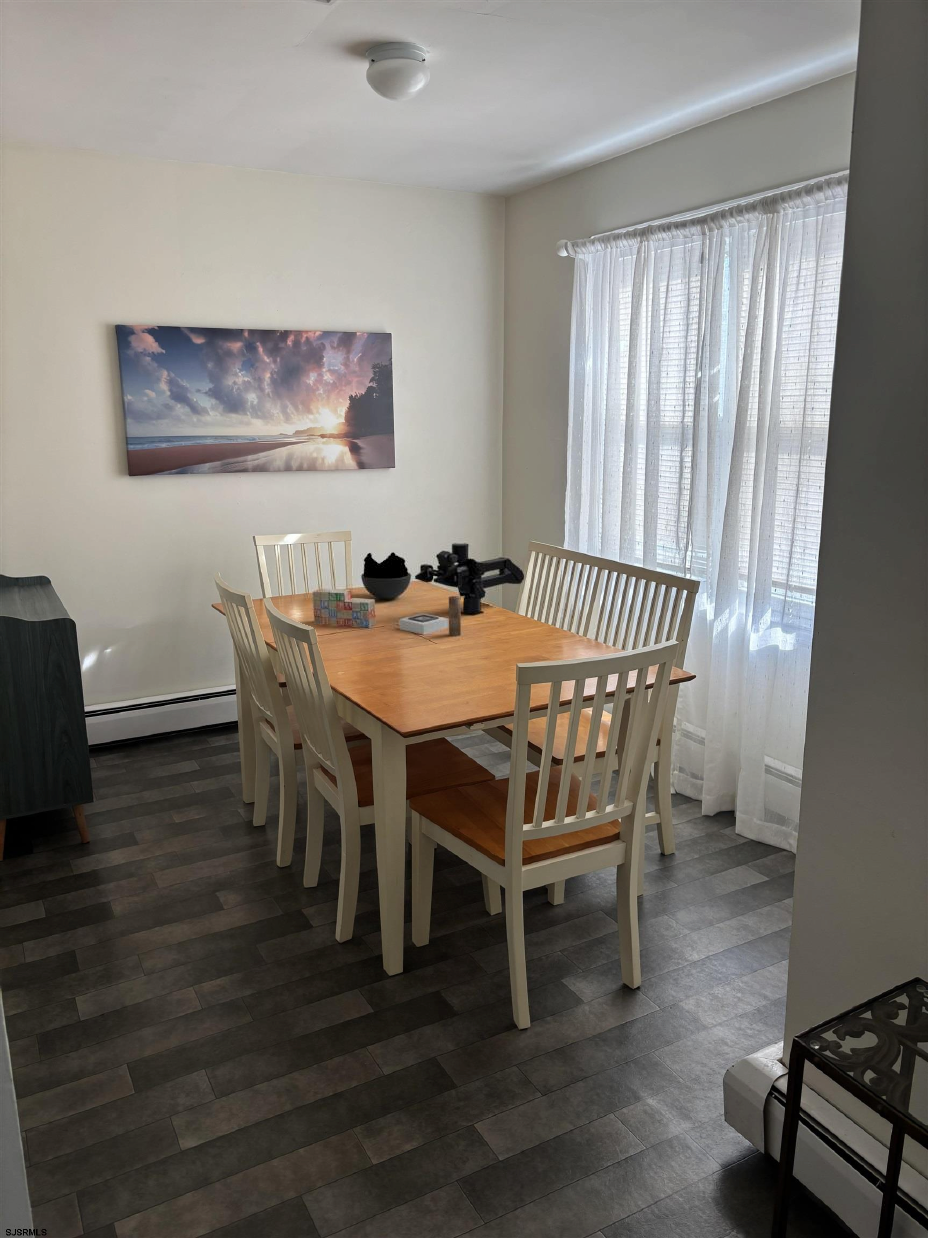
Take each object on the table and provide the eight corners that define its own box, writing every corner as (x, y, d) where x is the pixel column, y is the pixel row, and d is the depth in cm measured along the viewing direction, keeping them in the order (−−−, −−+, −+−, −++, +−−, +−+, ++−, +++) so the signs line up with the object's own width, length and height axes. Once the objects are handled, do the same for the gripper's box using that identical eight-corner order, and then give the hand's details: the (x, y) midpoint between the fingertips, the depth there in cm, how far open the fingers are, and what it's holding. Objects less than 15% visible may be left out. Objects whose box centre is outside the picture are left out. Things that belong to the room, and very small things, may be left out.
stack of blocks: (375, 624, 322) (374, 590, 319) (368, 628, 316) (368, 594, 313) (321, 620, 328) (319, 587, 325) (313, 624, 322) (312, 590, 319)
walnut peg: (454, 632, 309) (454, 595, 306) (463, 634, 307) (462, 597, 304) (446, 634, 307) (446, 597, 304) (455, 636, 304) (454, 599, 301)
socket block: (423, 623, 323) (423, 612, 322) (447, 628, 315) (447, 617, 315) (399, 629, 315) (399, 617, 314) (423, 634, 307) (423, 623, 306)
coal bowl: (421, 597, 368) (420, 551, 364) (391, 606, 351) (390, 558, 347) (381, 592, 378) (380, 547, 374) (351, 600, 362) (350, 554, 357)
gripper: (435, 548, 333) (405, 553, 321) (473, 553, 320) (443, 559, 309) (436, 577, 335) (406, 584, 324) (473, 584, 323) (443, 590, 312)
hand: (424, 578), depth 317 cm, fingers open, 9 cm apart
